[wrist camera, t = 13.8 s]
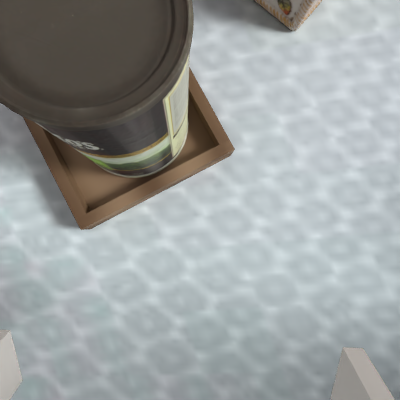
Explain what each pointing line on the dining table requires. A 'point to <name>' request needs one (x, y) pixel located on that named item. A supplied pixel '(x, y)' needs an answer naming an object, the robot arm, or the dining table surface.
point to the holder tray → (123, 186)
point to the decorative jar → (290, 10)
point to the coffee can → (101, 76)
